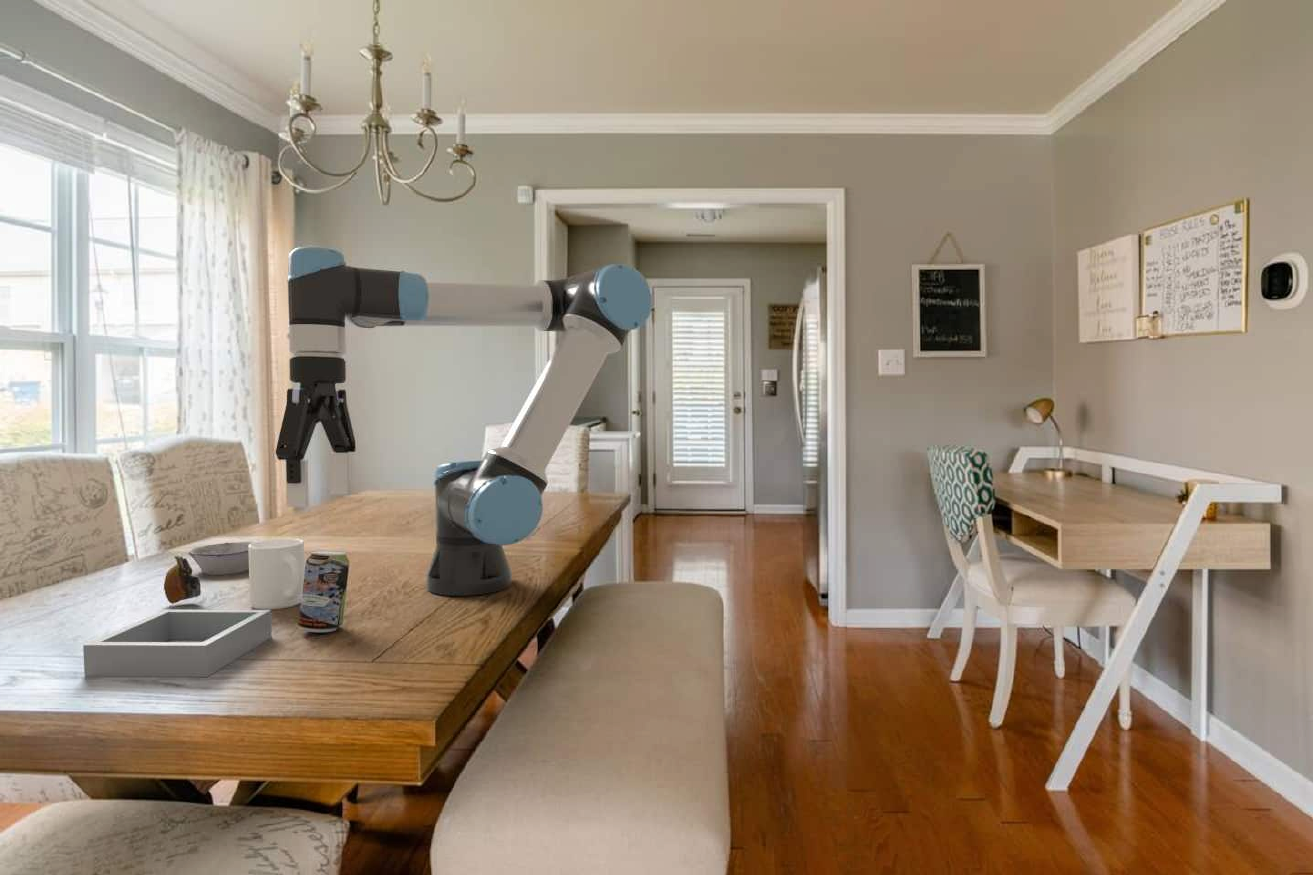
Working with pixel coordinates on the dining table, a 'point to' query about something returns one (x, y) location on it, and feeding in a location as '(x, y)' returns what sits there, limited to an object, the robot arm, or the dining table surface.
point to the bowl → (222, 558)
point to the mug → (276, 573)
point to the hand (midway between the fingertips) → (320, 500)
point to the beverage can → (324, 591)
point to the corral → (177, 644)
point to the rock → (181, 582)
